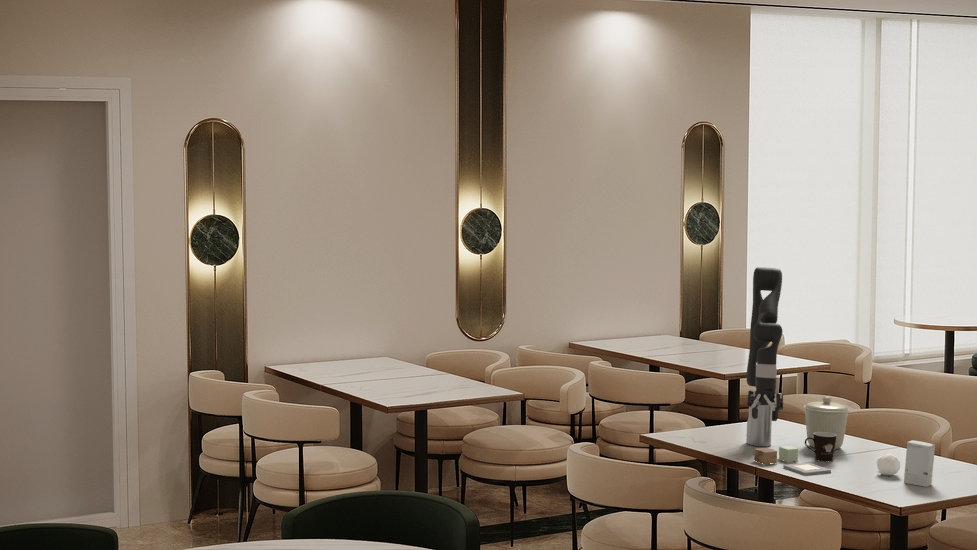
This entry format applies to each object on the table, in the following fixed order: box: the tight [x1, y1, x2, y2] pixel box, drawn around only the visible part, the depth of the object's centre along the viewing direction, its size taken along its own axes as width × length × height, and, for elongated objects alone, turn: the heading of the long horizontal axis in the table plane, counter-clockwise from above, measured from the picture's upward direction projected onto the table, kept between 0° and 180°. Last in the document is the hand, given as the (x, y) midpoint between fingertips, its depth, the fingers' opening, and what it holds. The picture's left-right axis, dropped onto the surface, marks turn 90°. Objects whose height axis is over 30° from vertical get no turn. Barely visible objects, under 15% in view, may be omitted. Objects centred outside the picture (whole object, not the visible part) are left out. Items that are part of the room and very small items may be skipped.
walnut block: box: [753, 447, 778, 465], centre depth 387 cm, size 6×6×5 cm
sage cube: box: [778, 445, 799, 463], centre depth 391 cm, size 5×5×5 cm
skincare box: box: [903, 440, 936, 488], centre depth 359 cm, size 8×6×15 cm
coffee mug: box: [804, 432, 837, 463], centre depth 394 cm, size 12×9×10 cm
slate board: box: [782, 462, 832, 476], centre depth 376 cm, size 12×12×1 cm
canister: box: [803, 396, 851, 451], centre depth 415 cm, size 18×18×21 cm
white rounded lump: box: [876, 453, 901, 476], centre depth 373 cm, size 8×8×12 cm
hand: (764, 419), depth 378 cm, fingers open, 8 cm apart
